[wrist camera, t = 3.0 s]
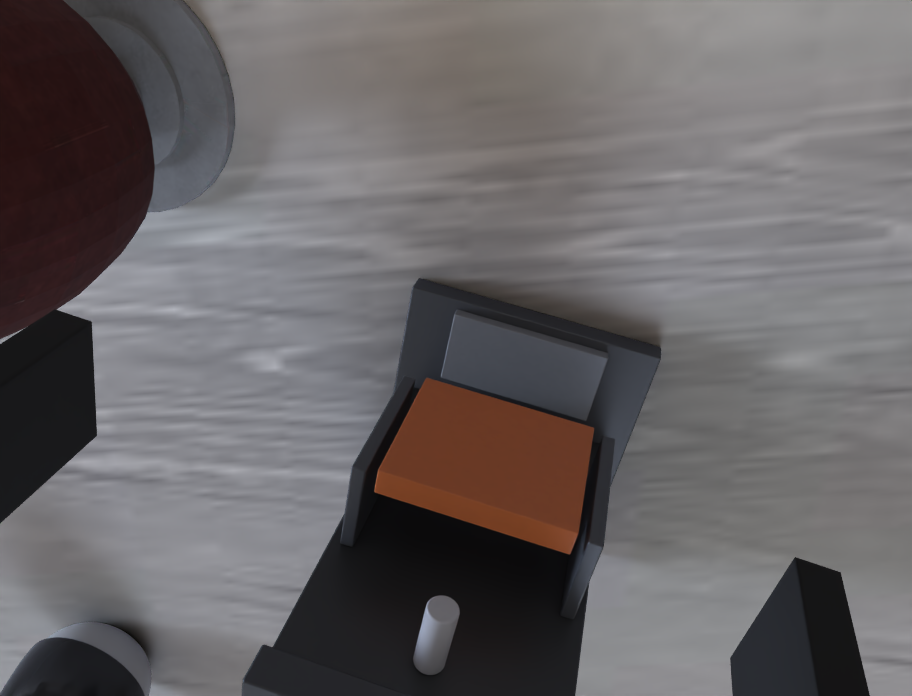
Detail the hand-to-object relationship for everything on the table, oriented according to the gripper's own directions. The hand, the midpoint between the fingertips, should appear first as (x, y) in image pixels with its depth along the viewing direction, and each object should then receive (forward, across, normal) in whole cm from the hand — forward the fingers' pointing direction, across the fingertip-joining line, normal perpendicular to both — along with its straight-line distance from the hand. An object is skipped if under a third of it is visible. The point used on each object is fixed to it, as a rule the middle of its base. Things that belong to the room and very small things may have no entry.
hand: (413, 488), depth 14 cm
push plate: (+19, +1, -11) cm, 22 cm away
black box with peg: (+25, +1, -17) cm, 30 cm away
